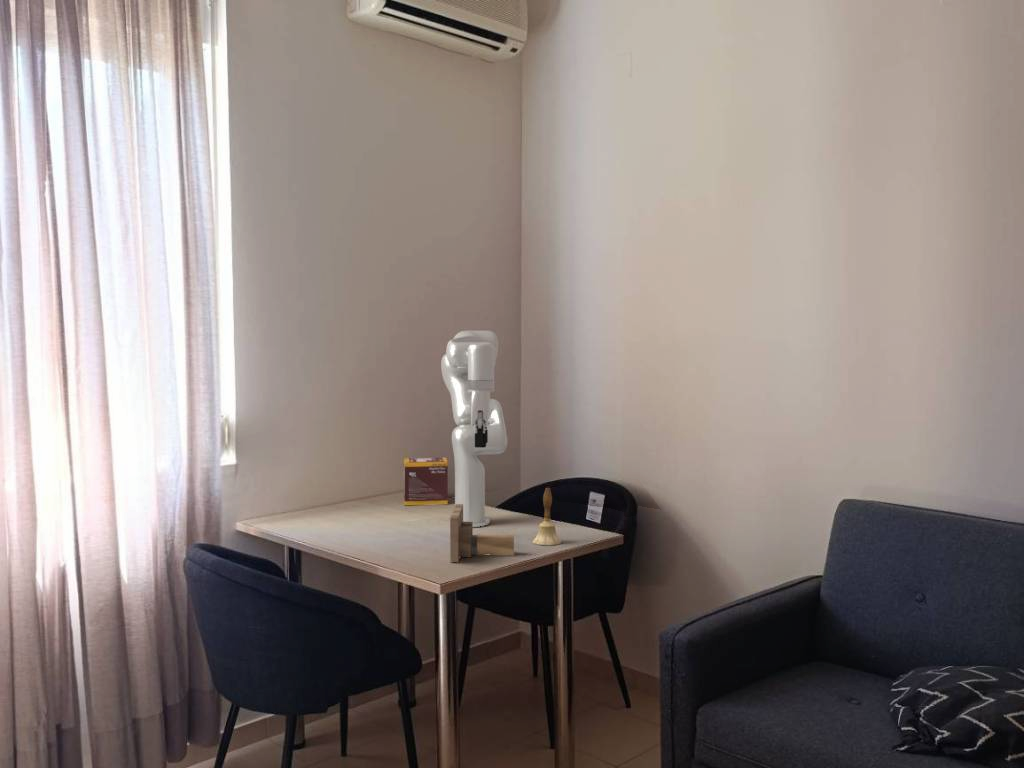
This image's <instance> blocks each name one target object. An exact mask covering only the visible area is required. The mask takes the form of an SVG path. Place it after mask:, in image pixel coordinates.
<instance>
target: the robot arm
mask: <svg viewBox="0 0 1024 768" xmlns="http://www.w3.org/2000/svg"><path fill="white" fill-rule="evenodd" d="M498 340H499V339H498V337H497V335H496V333H495V332H494V331H491V330H462V331H459V332H458V333H457V334H455V335H454V337H453V338H452V339H450V340H449V341H448V342H447V344H446V348H445V350H446V351H445V354H444V355H443V356H442V358H441V363H440V368H441V375H442V379H443V382H444V385H445V386H446V388H447V390H448V392H449V394H450V399H451V401H450V402H451V408H452V415H453V420H454V423H455V425H456V427H455V428H453V430H452V433H451V444H452V445H451V446H452V450H453V451H452V452H453V457H454V458H453V459H454V507H455V506H456V504H463V522H473V528H479V527H480V526H481V527H485V525H486V526H488V525H489V523H490V524H491V520H490V518H488V517H486V480H485V479H486V472H485V470H486V469H485V467H484V463H482V462H481V461H480V460H479V458H477V456H479V455H480V456H481V455H499V454H502V453H504V452H505V451H506V450H507V446H508V435H507V429H506V423H505V418H504V412H503V408H502V405H501V403H500V401H498V400H497V399H495V398H491V393H492V392H495V366H496V362H497V361H496V360H497V357H498V351H499V341H498ZM465 377H467V379H466V378H465Z"/></svg>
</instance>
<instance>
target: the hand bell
mask: <svg viewBox="0 0 1024 768" xmlns="http://www.w3.org/2000/svg"><path fill="white" fill-rule="evenodd" d="M542 501H543V507H544V518H543V521H542V522H541V523H540V524H539V526H538V532H537V535H536V537H535V538H534V539H533V541H532V544H534V545H538V546H557V545H558V546H559V545H561V544H562V540H561V539H560V538H559V537H558V535H557V531H556V526H555V523H553V522H552V521H551V507H552V503H553V495H552V491H551V488H550V487H545V490H544V493H543V497H542Z"/></svg>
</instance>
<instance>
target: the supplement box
mask: <svg viewBox="0 0 1024 768" xmlns="http://www.w3.org/2000/svg"><path fill="white" fill-rule="evenodd" d="M448 462H449V461H448V460H447V458H446V457H444V456H443V457H411V458H407V457H406V458H403V503H404V504H405V505H417V506H425V505H424V504H449V503H448V502H449V497H448V491H449V490H448V489H449V488H448V486H449V485H448V483H449V482H448V480H449V479H448V478H449V477H448V475H449V474H448V470H449V469H448V467H449V466H448V464H449V463H448ZM405 505H404V506H405Z"/></svg>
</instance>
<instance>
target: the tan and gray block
mask: <svg viewBox="0 0 1024 768" xmlns="http://www.w3.org/2000/svg"><path fill="white" fill-rule="evenodd" d="M471 554H477V555H476V556H485V555H484V554H490V555H489V556H514V555H515V535H514V534H473V535H471Z"/></svg>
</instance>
